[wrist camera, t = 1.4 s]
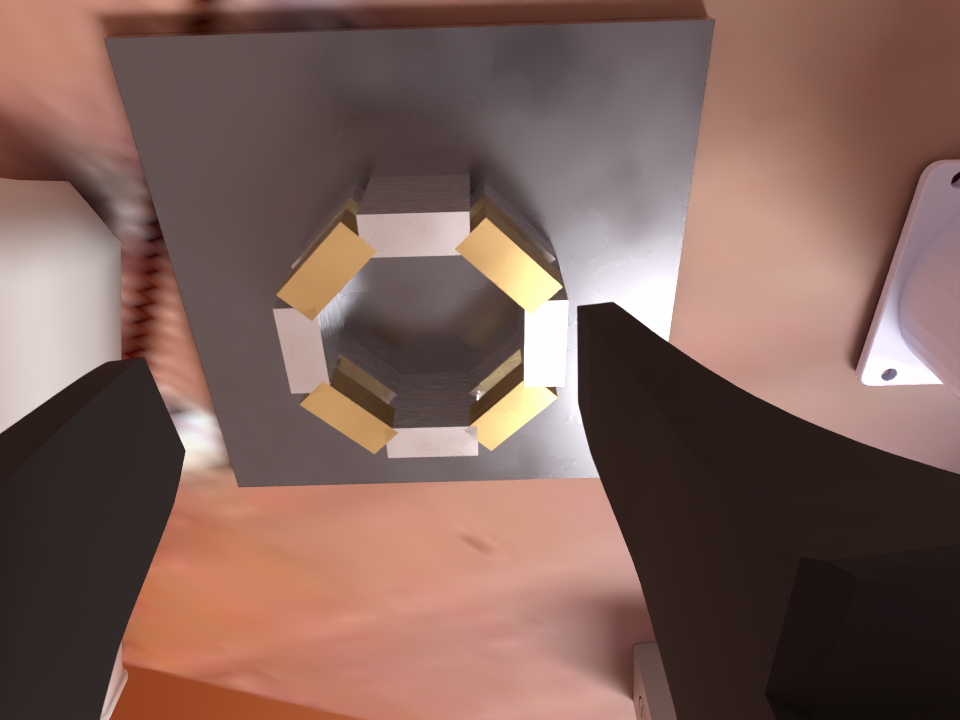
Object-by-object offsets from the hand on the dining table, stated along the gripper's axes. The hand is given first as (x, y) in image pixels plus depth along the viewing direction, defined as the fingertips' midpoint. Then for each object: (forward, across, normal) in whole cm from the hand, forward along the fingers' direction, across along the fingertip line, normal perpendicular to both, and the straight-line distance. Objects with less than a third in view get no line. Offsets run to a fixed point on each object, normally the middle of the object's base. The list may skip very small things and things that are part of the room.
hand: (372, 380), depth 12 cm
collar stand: (+11, -1, +4) cm, 11 cm away
